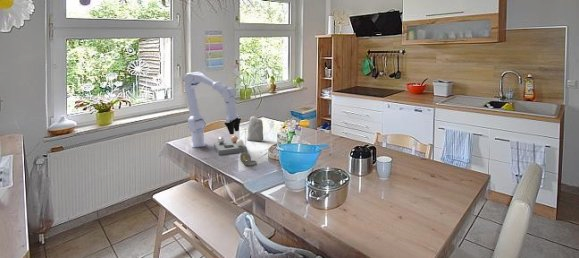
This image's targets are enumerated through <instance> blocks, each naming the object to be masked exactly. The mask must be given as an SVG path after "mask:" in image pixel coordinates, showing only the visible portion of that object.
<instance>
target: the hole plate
mask: <svg viewBox="0 0 579 258" xmlns="http://www.w3.org/2000/svg"><path fill="white" fill-rule="evenodd" d="M212 144H213V148H214V150H215V151H216V153H217V154H218V155H219V156H221V155H229V154H236V153H243V152H245V151H244V150H245V149H246V148H247V146H246V145H245V144H244V143H243V145H242V146H238V145H237V144H236V142H232V141H231V140H225V141H224V143H222V144H220V143H218V141H217V142H213V143H212ZM243 148H244V150H243ZM246 150H247V151H248V148H247V149H246Z"/></svg>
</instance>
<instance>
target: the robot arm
mask: <svg viewBox="0 0 579 258" xmlns="http://www.w3.org/2000/svg"><path fill="white" fill-rule="evenodd" d="M183 81H184V85H183V87H184V92H185V97H186V101H187V107H188V112H189V115H190V116H189V118H188V119H187V124H188V125H187V129H188V131H190V133H191V142H190V146H191V147H192V148H200V147H207V144H206V143H205V135H204V130H205V128H206V125H207V123H206V120H205V119H204V117H203V115H201V114H200V109H199V104H198V100H197V99H198V98H197V94H196V92H195V89H196V88H197V86H198V85H199V84H200V83H203V84H204V85H207V86H208V87H210V88H212V91H214V92H216V93H218V94H219V95H220V96H221V97H222V98H223V101H224V106H225V111H226V118H225V122H224V125H225V127H226V128H227V131H228V133H229V135H234V134H235V132H239V131H240V124H241V120H242V118H241V117H240V115H239V114H238V111H237V105H236V97H235V96H236V95H237V90H236V88H234V87H233V86H230V87H229V86H228V85H226V84H224V83H222V81H220V80H218V81H217V80H216V81H214V80H213V79H211V78H209V77H208V76H206V75H205V74H204V73H202V72H201V71H194V72H187V73H185V75H184V76H183Z"/></svg>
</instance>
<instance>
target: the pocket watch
mask: <svg viewBox="0 0 579 258" xmlns="http://www.w3.org/2000/svg"><path fill="white" fill-rule="evenodd" d="M246 149H247V150H246ZM246 149H245V150H244V148H243V150H244V151H245V152H240V155H239V160H240V162H241V163H242V164H243V165H245V166H247V167H248V166H249V167H251V166H255V165H257V161H256V160H252V156H251V154H250V153H249V152H247V151H248V148H246Z"/></svg>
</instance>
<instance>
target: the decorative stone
mask: <svg viewBox="0 0 579 258" xmlns="http://www.w3.org/2000/svg"><path fill="white" fill-rule="evenodd" d="M246 140H247V141H253V142H262V141H264V124H263V120H262V119H261V118H259V117H256V116H254V115H253V116H250V118H249V121H248V127H247V136H246Z"/></svg>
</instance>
